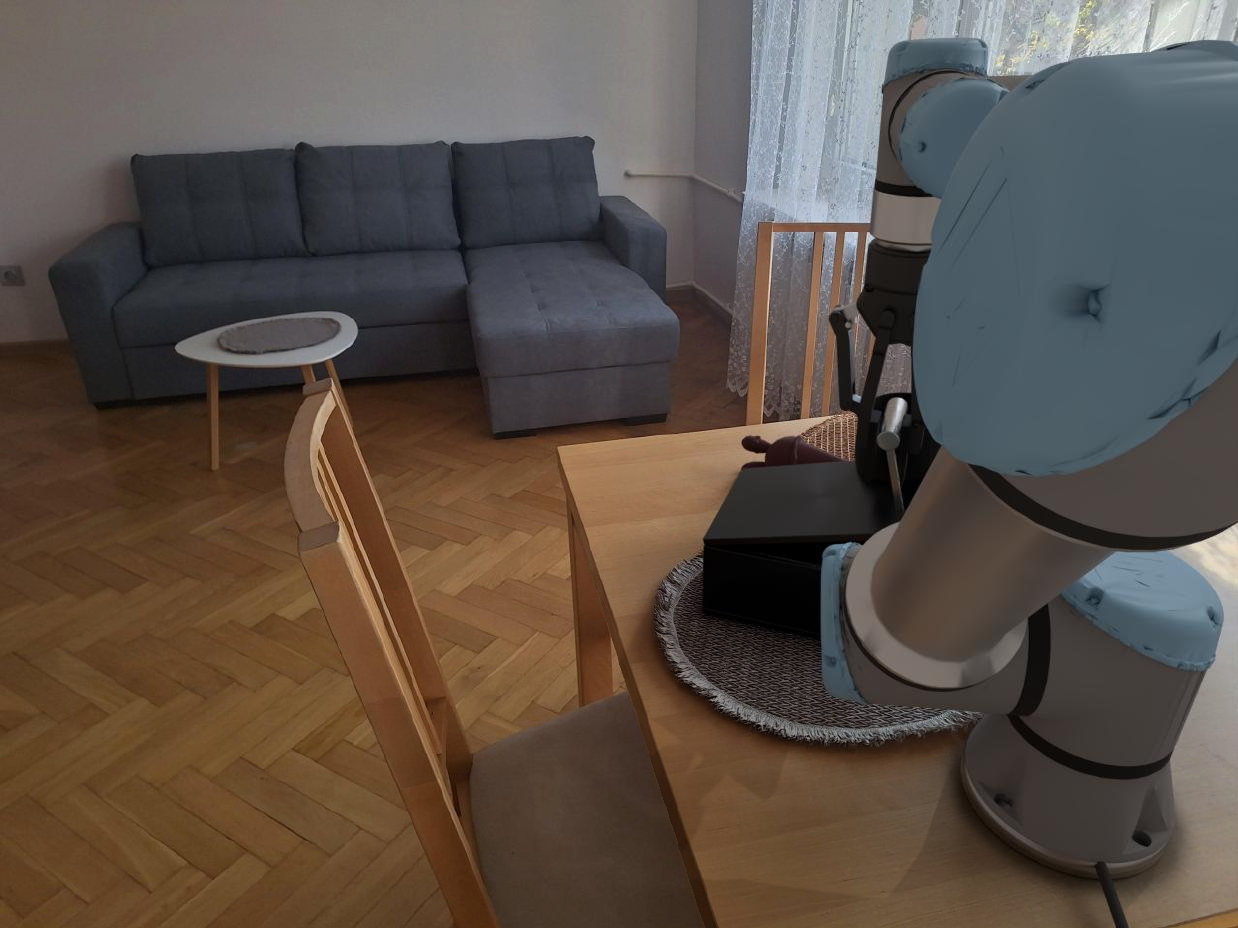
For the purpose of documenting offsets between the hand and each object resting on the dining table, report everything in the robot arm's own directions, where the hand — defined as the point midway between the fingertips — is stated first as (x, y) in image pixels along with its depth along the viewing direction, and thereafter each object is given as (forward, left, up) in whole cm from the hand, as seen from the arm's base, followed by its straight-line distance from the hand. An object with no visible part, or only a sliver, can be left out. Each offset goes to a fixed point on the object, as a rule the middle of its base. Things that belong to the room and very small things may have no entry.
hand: (884, 476), depth 83 cm
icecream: (+23, +13, -16) cm, 31 cm away
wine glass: (+7, -1, -6) cm, 9 cm away
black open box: (0, +6, -16) cm, 17 cm away
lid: (0, +6, -4) cm, 7 cm away
